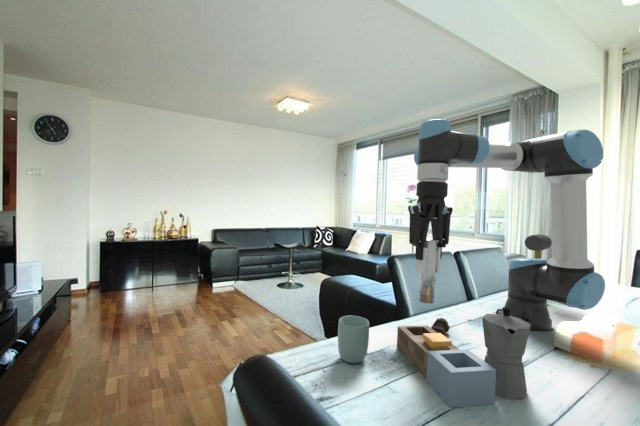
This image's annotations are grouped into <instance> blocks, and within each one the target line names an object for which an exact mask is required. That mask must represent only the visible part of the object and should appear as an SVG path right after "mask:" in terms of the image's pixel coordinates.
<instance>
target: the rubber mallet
mask: <svg viewBox="0 0 640 426" xmlns="http://www.w3.org/2000/svg"><path fill="white" fill-rule="evenodd" d="M524 246H525V247H526V248H527V249H528V250H529V251H532V252H533V251H534V255H533V256H534V257H533V259H542V251H544V250H548V249H549V248H551V247H552V238H550V237H549V236H548V235H546V234H538V233H537V234H531V235H528V236H527V237H526V238H525V239H524Z"/></svg>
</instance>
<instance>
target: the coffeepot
mask: <svg viewBox="0 0 640 426" xmlns="http://www.w3.org/2000/svg"><path fill="white" fill-rule="evenodd" d="M510 310H511V309H510V308H508V307H504V306H503V307H501V308H498V309H496V311H495V313H486V314H484V315H483V316H482V317H481V319H482V326H483V327H482V329H483V330H482V331H483V337H484V338H483V339H484V347H486V349H487V350H486V354H485V356H484V359H483V361H485V362H486V363H487V364H489V365H490V366H492V367H493V368H494V369H496V384H495V396H497V397H500V398H503V399H506V400H513V401H516V400H517V401H518V400H522V399H525V397H526V395H527V393H528V388H527V382H526V374H525V367H524V363H523V357H524V356H525V355H524V354H525V352H526V348H527V344H528V339H529V334H530V331H531V330H530V327H531V324H529V323H527V322H525V321H523V320H522V319H520V318H516V317H513V316H509V314H510Z"/></svg>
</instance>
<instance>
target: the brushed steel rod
mask: <svg viewBox="0 0 640 426" xmlns="http://www.w3.org/2000/svg"><path fill="white" fill-rule="evenodd" d="M437 243H438V240H433V238H432V239H430V238H426V243H425V248H427V266H426V274H423V273H419V275H418V276H419V279H418V280H419V281H418V297H417V298H418V299H417V300H418V302H420V303H423V304H427V305H428V304H432V305H433V304H435V301H436V300H435V299H436V282H437V281H436V280H437V273H436V263H437Z"/></svg>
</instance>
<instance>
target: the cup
mask: <svg viewBox="0 0 640 426" xmlns="http://www.w3.org/2000/svg"><path fill="white" fill-rule="evenodd" d="M337 326H338V328H337V350H338V354H339V357H340V358H341V359H342V360H343V361H344V362H345V363H348V364H360V363H362V362H363V361H364V360H365V359H366V356H367V354H368V353H367V352H368V349H369V342H370V341H369V340H370V339H369V338H370V321H369V320H368V319H367V318H365V317H362V316H358V315H343V316H341V317H340V318H339V319H338V325H337Z"/></svg>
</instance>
